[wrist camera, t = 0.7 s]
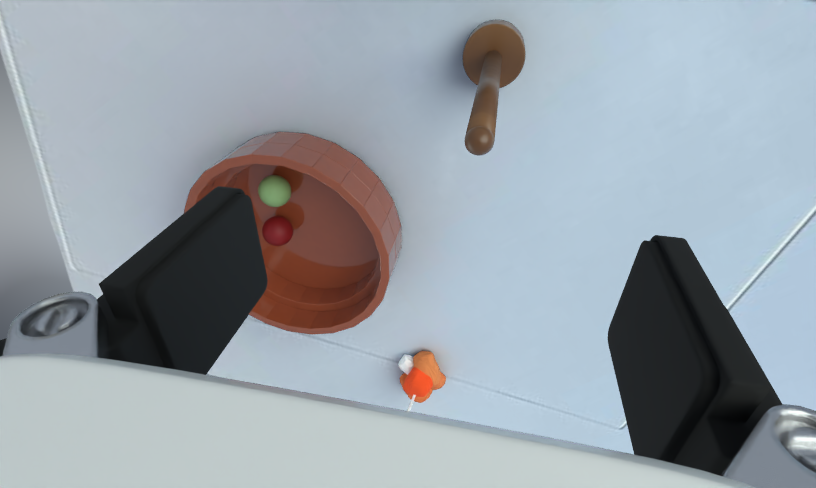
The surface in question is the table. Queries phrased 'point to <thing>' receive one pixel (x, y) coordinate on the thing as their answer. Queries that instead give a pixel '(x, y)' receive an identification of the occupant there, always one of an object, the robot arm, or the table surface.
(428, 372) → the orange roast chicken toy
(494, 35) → the wooden masher
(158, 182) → the table surface
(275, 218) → the red bead
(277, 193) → the green bead
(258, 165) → the bowl
